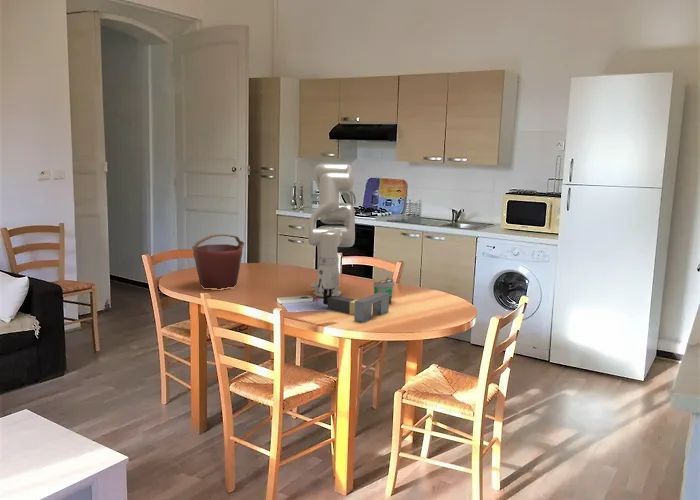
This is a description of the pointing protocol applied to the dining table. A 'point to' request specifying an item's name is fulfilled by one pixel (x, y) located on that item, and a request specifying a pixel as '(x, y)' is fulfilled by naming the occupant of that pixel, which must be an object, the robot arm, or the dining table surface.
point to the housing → (365, 306)
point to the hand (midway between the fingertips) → (327, 304)
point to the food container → (384, 287)
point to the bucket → (218, 263)
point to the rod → (341, 304)
